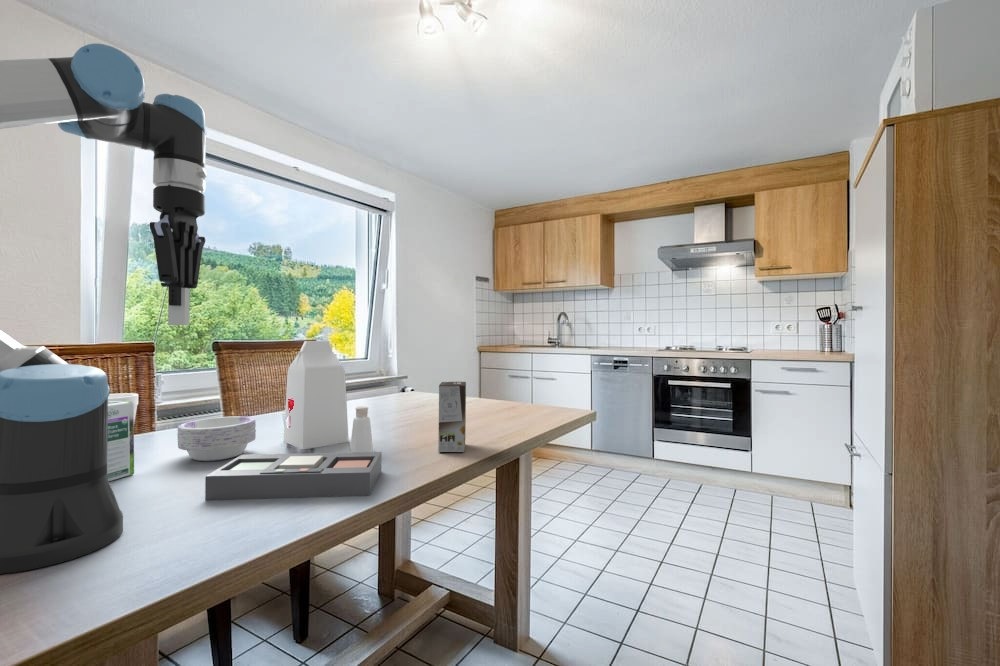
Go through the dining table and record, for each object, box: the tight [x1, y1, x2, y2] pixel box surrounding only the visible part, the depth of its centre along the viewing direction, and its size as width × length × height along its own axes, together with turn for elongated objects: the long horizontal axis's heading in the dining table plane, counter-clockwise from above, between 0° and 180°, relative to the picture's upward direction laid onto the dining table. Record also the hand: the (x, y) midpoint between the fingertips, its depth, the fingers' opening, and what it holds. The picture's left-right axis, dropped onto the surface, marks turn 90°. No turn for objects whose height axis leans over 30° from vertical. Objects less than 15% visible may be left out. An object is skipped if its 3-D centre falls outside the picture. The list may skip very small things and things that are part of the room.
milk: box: [283, 340, 350, 450], centre depth 121 cm, size 12×12×26 cm
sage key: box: [230, 462, 274, 470], centre depth 86 cm, size 6×6×2 cm
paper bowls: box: [176, 415, 257, 462], centre depth 106 cm, size 15×15×8 cm
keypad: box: [204, 451, 382, 501], centre depth 87 cm, size 14×27×4 cm, turn 96°
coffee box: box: [437, 381, 467, 453], centre depth 115 cm, size 9×6×16 cm
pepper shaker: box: [349, 405, 374, 453], centre depth 109 cm, size 5×5×11 cm
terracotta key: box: [333, 460, 371, 468], centre depth 88 cm, size 6×6×2 cm
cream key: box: [279, 456, 323, 469], centre depth 87 cm, size 6×6×2 cm
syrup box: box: [107, 401, 135, 482], centre depth 90 cm, size 6×6×14 cm
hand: (178, 325), depth 82 cm, fingers closed
